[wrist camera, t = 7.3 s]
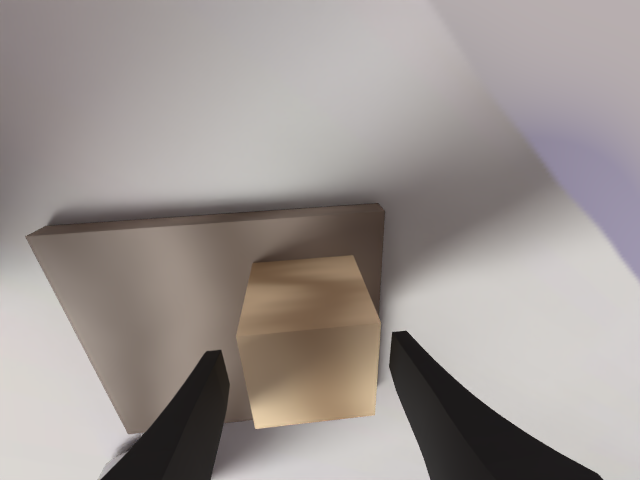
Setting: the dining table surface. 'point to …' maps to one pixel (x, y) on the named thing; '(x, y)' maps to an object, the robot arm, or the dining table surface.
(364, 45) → the dining table surface
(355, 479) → the dining table surface
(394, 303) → the dining table surface
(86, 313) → the serving board
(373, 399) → the oak block
